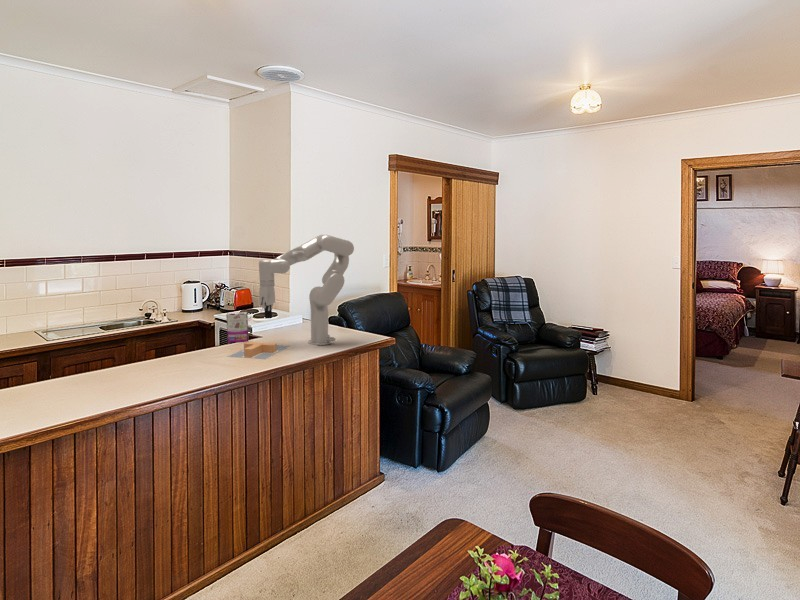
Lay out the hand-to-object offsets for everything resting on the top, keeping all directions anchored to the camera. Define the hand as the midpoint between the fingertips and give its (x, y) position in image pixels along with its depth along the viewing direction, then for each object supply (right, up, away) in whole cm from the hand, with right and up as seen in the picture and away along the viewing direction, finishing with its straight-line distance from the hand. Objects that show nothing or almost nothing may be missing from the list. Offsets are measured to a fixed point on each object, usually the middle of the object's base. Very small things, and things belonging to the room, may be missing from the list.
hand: (268, 318), depth 273 cm
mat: (-2, -17, -7) cm, 19 cm away
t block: (-3, -18, -13) cm, 22 cm away
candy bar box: (-21, -14, +16) cm, 30 cm away
